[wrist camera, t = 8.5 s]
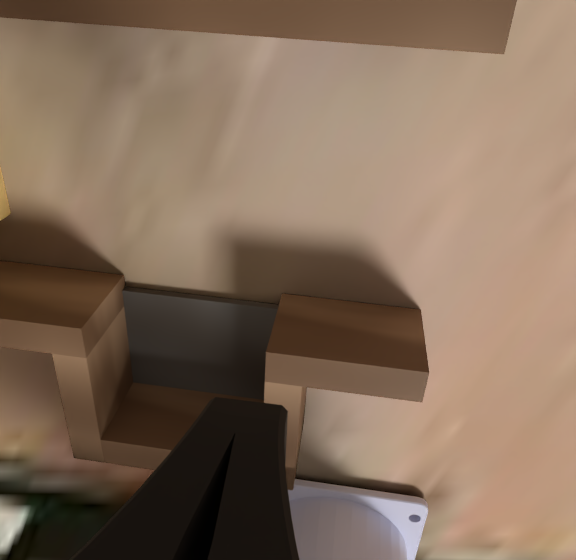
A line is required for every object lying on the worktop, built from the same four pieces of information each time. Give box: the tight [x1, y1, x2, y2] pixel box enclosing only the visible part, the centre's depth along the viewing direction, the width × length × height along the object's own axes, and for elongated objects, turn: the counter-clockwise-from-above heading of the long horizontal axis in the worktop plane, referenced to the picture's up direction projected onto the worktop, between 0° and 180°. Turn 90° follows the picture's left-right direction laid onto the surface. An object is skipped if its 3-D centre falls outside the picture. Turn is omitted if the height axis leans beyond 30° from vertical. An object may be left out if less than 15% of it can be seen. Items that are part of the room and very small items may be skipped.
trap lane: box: [0, 0, 517, 490], centre depth 17 cm, size 21×23×4 cm
